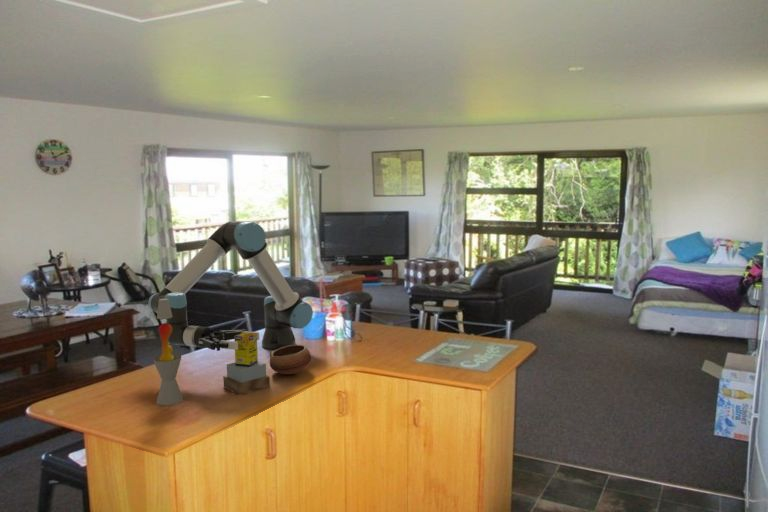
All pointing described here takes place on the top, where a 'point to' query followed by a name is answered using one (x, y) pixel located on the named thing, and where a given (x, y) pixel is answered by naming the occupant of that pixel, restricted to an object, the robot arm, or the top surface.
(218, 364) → the top surface
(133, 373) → the top surface
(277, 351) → the bowl
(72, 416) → the top surface
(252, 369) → the tower top block
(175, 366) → the lava lamp
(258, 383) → the tower base slab
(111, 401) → the top surface
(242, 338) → the supplement box
